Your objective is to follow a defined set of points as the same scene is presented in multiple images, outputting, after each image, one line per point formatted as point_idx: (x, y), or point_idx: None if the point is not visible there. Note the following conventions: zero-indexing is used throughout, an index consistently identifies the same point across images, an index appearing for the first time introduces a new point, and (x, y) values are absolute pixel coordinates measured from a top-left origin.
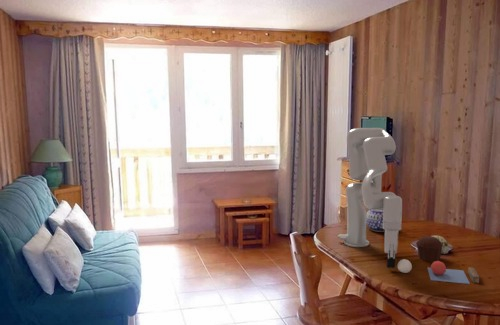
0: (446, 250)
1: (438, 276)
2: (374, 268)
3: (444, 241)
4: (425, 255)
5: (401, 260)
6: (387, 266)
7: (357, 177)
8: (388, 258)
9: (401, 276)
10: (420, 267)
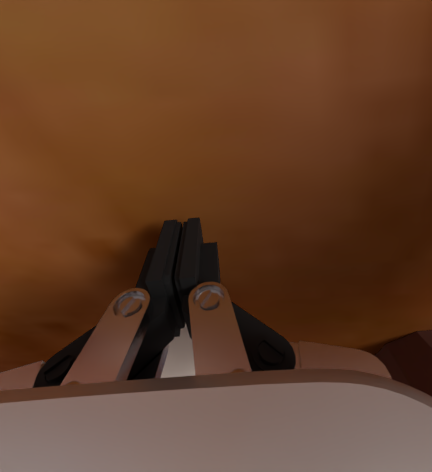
0: None
1: None
2: (176, 80)
3: None
4: (399, 376)
5: (166, 362)
6: (164, 225)
7: None
8: (121, 300)
9: (115, 284)
10: (288, 337)
